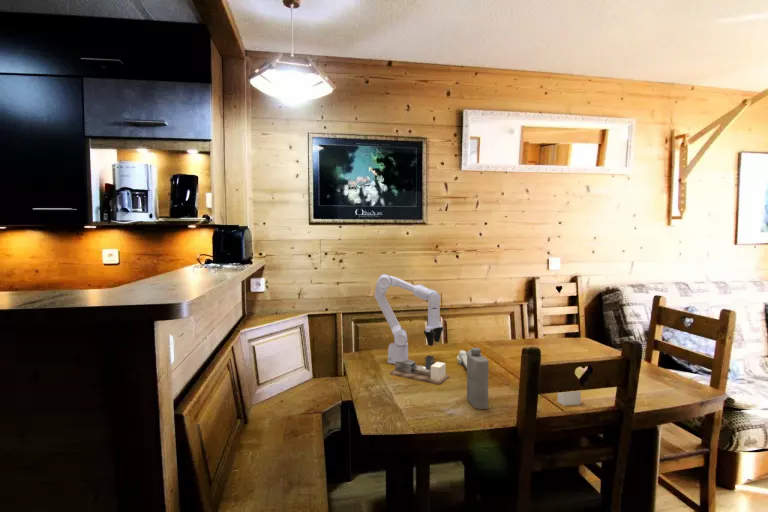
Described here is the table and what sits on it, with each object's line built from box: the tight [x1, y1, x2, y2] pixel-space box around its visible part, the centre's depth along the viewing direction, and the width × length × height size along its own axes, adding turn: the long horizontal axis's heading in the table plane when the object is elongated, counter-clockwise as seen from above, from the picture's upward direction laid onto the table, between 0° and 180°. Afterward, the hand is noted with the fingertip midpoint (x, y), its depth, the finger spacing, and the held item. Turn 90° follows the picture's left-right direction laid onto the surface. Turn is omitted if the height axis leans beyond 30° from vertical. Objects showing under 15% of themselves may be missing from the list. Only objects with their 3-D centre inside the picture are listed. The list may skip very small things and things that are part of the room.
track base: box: [389, 359, 450, 386], centre depth 174 cm, size 24×10×5 cm, turn 59°
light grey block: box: [557, 390, 582, 407], centre depth 145 cm, size 4×7×10 cm, turn 99°
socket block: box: [431, 361, 447, 381], centre depth 169 cm, size 4×7×6 cm, turn 149°
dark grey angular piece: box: [412, 355, 435, 374], centre depth 172 cm, size 14×3×8 cm, turn 59°
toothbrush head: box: [456, 349, 467, 369], centre depth 181 cm, size 5×7×25 cm
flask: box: [466, 347, 489, 410], centre depth 146 cm, size 15×6×20 cm, turn 2°
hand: (433, 343), depth 191 cm, fingers open, 7 cm apart
